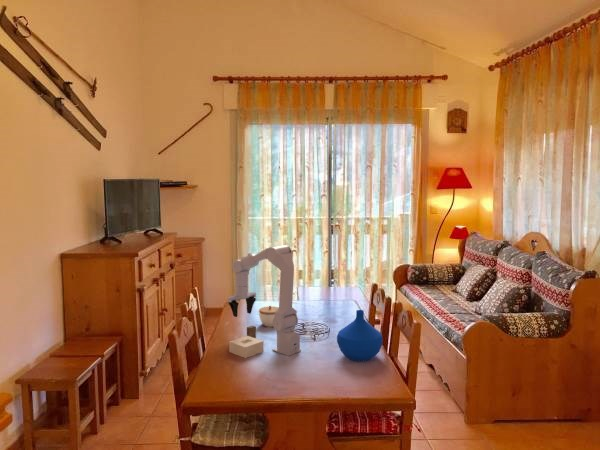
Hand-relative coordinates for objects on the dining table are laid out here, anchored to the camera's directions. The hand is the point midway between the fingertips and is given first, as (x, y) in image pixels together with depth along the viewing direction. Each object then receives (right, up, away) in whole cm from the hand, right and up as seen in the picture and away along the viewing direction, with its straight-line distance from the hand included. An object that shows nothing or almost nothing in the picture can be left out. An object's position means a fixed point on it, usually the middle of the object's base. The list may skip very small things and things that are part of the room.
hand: (242, 314), depth 216 cm
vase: (+50, -13, -24) cm, 57 cm away
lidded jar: (+12, -8, +18) cm, 23 cm away
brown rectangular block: (+5, -11, -7) cm, 14 cm away
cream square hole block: (+4, -12, -19) cm, 22 cm away
